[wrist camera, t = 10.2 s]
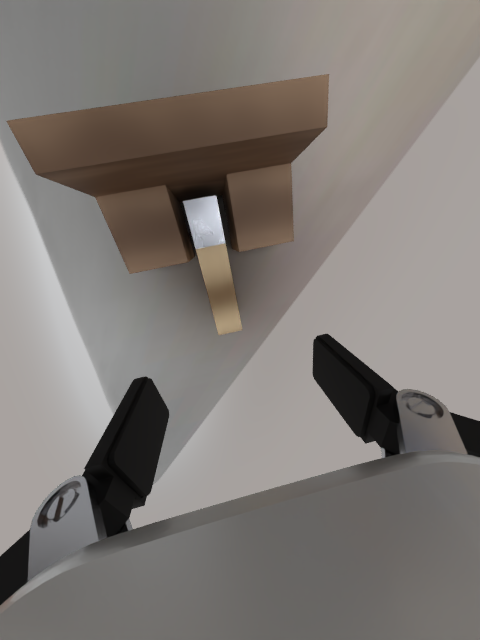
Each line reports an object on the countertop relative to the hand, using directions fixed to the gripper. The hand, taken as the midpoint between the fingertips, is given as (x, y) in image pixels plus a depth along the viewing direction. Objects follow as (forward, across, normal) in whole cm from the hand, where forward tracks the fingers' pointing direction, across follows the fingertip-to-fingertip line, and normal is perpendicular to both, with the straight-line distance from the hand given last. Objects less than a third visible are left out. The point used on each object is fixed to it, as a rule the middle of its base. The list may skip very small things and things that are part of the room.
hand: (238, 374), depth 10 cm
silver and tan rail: (+17, 0, -3) cm, 17 cm away
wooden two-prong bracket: (+17, 0, -10) cm, 20 cm away
